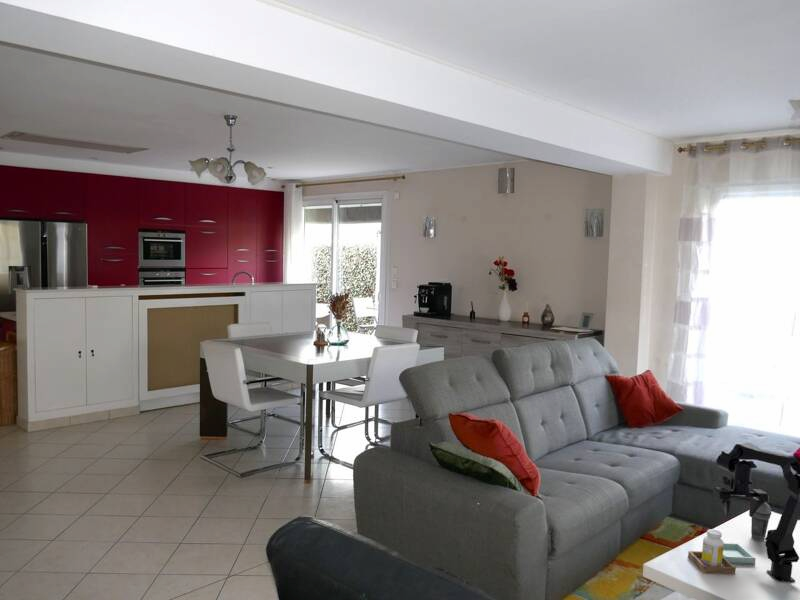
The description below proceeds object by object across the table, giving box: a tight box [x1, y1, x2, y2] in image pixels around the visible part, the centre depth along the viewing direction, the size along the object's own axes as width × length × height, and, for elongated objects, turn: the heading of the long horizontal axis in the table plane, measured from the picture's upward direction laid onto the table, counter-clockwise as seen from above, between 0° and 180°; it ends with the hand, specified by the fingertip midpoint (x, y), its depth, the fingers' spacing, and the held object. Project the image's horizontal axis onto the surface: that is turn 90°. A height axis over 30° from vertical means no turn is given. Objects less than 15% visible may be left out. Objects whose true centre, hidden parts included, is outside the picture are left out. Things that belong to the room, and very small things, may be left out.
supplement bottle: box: [700, 528, 725, 566], centre depth 230 cm, size 7×7×13 cm
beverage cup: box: [750, 501, 772, 542], centre depth 255 cm, size 7×7×20 cm
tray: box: [723, 542, 756, 566], centre depth 239 cm, size 11×11×2 cm
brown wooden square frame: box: [687, 550, 737, 576], centre depth 231 cm, size 11×11×2 cm
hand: (738, 516), depth 244 cm, fingers open, 9 cm apart
